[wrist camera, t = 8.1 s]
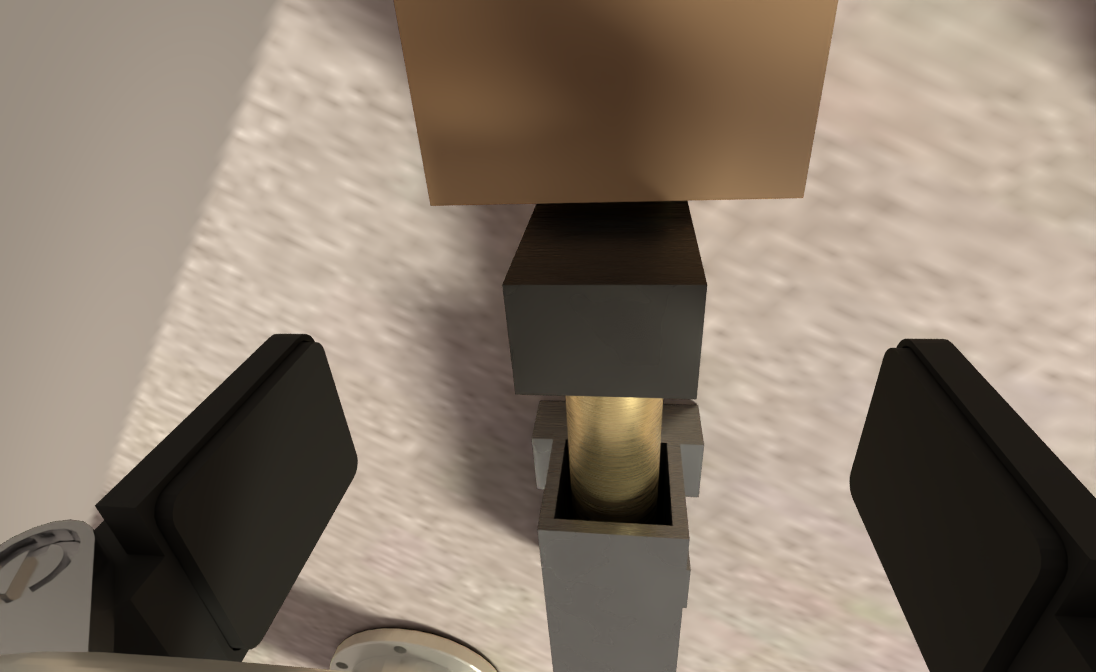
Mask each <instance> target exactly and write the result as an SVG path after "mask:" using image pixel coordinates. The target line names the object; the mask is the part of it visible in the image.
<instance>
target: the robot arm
mask: <svg viewBox="0 0 1096 672" xmlns="http://www.w3.org/2000/svg"><path fill="white" fill-rule="evenodd" d="M357 464H358V460H357V454H356V451H355V448H354V444H353V441H352V438H351V435H350V431H349V428H348V425H347V422H346V419H345V415H344V412H343V409H342V406H341V403H340V399H339V396H338V393H337V390H336V386H335V383H334V380H333V377H332V374H331V370H330V367H329V364H328V361H327V357H326V354H325V351H324V349H323V346H322V345H321V344H320V343H318V342H315V341H314V339H313V338H312V337H311V336H310V335H307V334H274V335H272V336H271V337H270V338H269V339H267V340H266V341H265V342H264V343H263V344H262V345H261V346H260V347H259V348H258V349H257V350H256V351H255V352H254V353H253V354H252V355H251V356H250V357H249V358H248V359H247V360H246V361H245V362H244V363H243V364H242V365H240V366H239V367H238V368H237V369H236V370H235V371H234V372H233V373H232V374H231V375H230V376H229V377H228V378H227V379H226V380H225V381H224V382H223V383H222V384H221V385H220V386H219V387H218V388H217V389H216V390H215V391H213V392H212V393H211V394H210V395H209V396H208V397H207V398H206V399H205V400H204V401H203V402H202V403H201V404H200V405H199V406H198V407H197V408H196V409H195V410H194V411H193V412H192V413H191V414H190V415H189V416H188V417H186V418H185V419H184V420H183V421H182V422H181V423H180V424H179V425H178V426H177V427H176V428H175V429H174V430H173V431H172V432H171V433H170V434H169V435H168V436H167V437H166V438H165V439H164V440H163V441H162V442H161V443H159V444H158V445H157V446H156V447H155V448H154V449H153V450H152V451H151V452H150V453H149V454H148V455H147V456H146V457H145V458H144V459H143V460H142V461H141V462H140V463H139V464H138V465H137V466H136V467H135V468H134V469H132V470H131V471H130V472H129V473H128V474H127V475H126V476H125V477H124V478H123V479H122V480H121V481H120V482H119V483H118V484H117V485H116V486H115V487H114V488H113V489H112V490H111V491H110V492H109V493H108V494H107V495H105V496H104V497H103V498H102V499H101V500H100V501H99V502H98V503H97V504H96V505H95V507H96V508H97V510H98V511H99V513H100V514H101V516H102V517H103V519H104V521H103V522H102V523H101V524H100V525H99V526H98V527H97V528H96V529H95V530H94V529H93V528H92V527H91V526H90V525H88V524H87V523H85V522H84V521H77V520H63V521H55V522H50V523H47V524H44V525H41V526H37V527H34V528H32V529H30V530H27V531H25V532H23V533H21V534H19V535H16V536H14V537H12V538H11V539H9V540H7V541H6V542H4V543H2V544H1V545H0V672H497V671H496V670H495V668H494V667H493V666H492V665H491V664H490V663H489V662H487V661H486V660H485V659H484V658H482V657H481V656H480V655H478V654H477V653H475V652H473V651H472V650H470V649H468V648H467V647H465V646H463V645H460V644H458V643H456V642H454V641H452V640H449V639H446V638H443V637H440V636H437V635H434V634H430V633H425V632H421V631H416V630H408V629H399V628H382V629H374V630H367V631H364V632H361V633H357V634H354V635H353V636H351V637H349V638H347V639H345V640H344V641H343V642H342V643H341V644H340V645H339V646H338V648H337V650H336V652H335V654H334V656H333V658H332V660H331V663H330V668H329V670H327V669H316V668H304V667H292V666H281V665H269V664H258V663H246V662H242V660H243V659H244V657H245V655H246V653H247V652H248V650H249V649H253V648H255V647H256V646H257V645H258V644H259V643H260V642H261V640H262V639H263V637H264V636H265V634H266V632H267V630H268V629H269V627H270V625H271V623H272V622H273V620H274V618H275V616H276V614H277V613H278V611H279V609H280V607H281V606H282V604H283V602H284V600H285V598H286V597H287V595H288V593H289V591H290V590H291V588H292V586H293V584H294V583H295V581H296V579H297V577H298V575H299V574H300V572H301V570H302V568H303V567H304V565H305V563H306V561H307V560H308V558H309V556H310V554H311V552H312V551H313V549H314V547H315V545H316V544H317V542H318V540H319V538H320V537H321V535H322V533H323V531H324V529H325V528H326V526H327V524H328V522H329V521H330V519H331V517H332V515H333V513H334V512H335V510H336V508H337V506H338V505H339V503H340V501H341V499H342V498H343V496H344V494H345V492H346V490H347V489H348V487H349V485H350V483H351V482H352V480H353V478H354V476H355V474H356V470H357ZM850 491H851V495H852V498H853V500H854V503H855V505H856V507H857V509H858V512H859V514H860V516H861V518H862V521H863V523H864V525H865V527H866V530H867V532H868V534H869V536H870V539H871V541H872V543H873V545H874V548H875V550H876V552H877V554H878V557H879V559H880V561H881V563H882V566H883V568H884V570H885V572H886V575H887V577H888V579H889V581H890V584H891V586H892V588H893V590H894V593H895V595H896V597H897V599H898V602H899V604H900V606H901V608H902V611H903V613H904V615H905V617H906V620H907V622H908V624H909V626H910V629H911V631H912V633H913V635H914V638H915V640H916V642H917V644H918V647H919V649H920V651H921V653H922V656H923V658H924V660H925V662H926V665H927V667H928V669H929V671H930V672H1096V498H1095V497H1094V496H1093V495H1092V494H1091V493H1090V492H1089V491H1088V489H1087V488H1086V487H1085V486H1084V485H1083V484H1082V483H1081V482H1080V481H1079V480H1078V479H1077V478H1076V476H1075V475H1074V474H1073V473H1072V472H1071V471H1070V470H1069V469H1068V468H1067V467H1066V466H1065V465H1064V464H1063V462H1062V461H1061V460H1060V459H1059V458H1058V457H1057V456H1056V455H1055V454H1054V453H1053V452H1052V451H1051V449H1050V448H1049V447H1048V446H1047V445H1046V444H1045V443H1044V442H1043V441H1042V440H1041V439H1040V438H1039V437H1038V435H1037V434H1036V433H1035V432H1034V431H1033V430H1032V429H1031V428H1030V427H1029V426H1028V425H1027V424H1026V422H1025V421H1024V420H1023V419H1022V418H1021V417H1020V416H1019V415H1018V414H1017V413H1016V412H1015V411H1014V410H1013V408H1012V407H1011V406H1010V405H1009V404H1008V403H1007V402H1006V401H1005V400H1004V399H1003V398H1002V397H1001V395H1000V394H999V393H998V392H997V391H996V390H995V389H994V388H993V387H992V386H991V385H990V384H989V383H988V381H987V380H986V379H985V378H984V377H983V376H982V375H981V374H980V373H979V372H978V371H977V370H976V368H975V367H974V366H973V365H972V364H971V363H970V362H969V361H968V360H967V359H966V358H965V357H964V356H963V354H962V353H961V352H960V351H959V350H958V349H957V348H956V347H955V346H954V345H953V344H952V343H951V342H950V341H948V340H946V339H904V340H902V341H901V342H900V343H899V344H898V345H897V348H890V349H888V350H887V351H886V352H885V355H884V358H883V361H882V365H881V368H880V372H879V375H878V379H877V382H876V386H875V389H874V393H873V396H872V400H871V403H870V407H869V410H868V414H867V417H866V421H865V424H864V428H863V431H862V435H861V438H860V442H859V445H858V449H857V452H856V456H855V460H854V463H853V467H852V470H851V474H850Z"/></svg>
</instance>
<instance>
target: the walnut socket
mask: <svg viewBox="0 0 1096 672" xmlns="http://www.w3.org/2000/svg"><path fill="white" fill-rule="evenodd" d="M837 4H838V0H394V5H395V11H396V16H397V22H398V28H399V33H400V39H401V44H402V50H403V55H404V61H405V66H406V72H407V77H408V83H409V89H410V94H411V100H412V105H413V111H414V116H415V122H416V127H417V133H418V138H419V144H420V150H421V155H422V161H423V166H424V172H425V177H426V183H427V188H428V194H429V199H430V205H431V206H444V205H492V204H541V203H589V202H637V201H685V200H733V199H781V198H803V196H804V191H805V185H806V179H807V174H808V168H809V162H810V157H811V151H812V145H813V140H814V134H815V128H816V123H817V117H818V111H819V106H820V100H821V95H822V89H823V83H824V78H825V72H826V66H827V61H828V55H829V49H830V44H831V38H832V32H833V27H834V21H835V15H836V10H837Z"/></svg>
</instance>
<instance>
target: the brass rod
mask: <svg viewBox="0 0 1096 672" xmlns="http://www.w3.org/2000/svg"><path fill="white" fill-rule="evenodd" d="M502 287H503V295H504V303H505V311H506V320H507V328H508V336H509V345H510V353H511V361H512V369H513V378H514V386H515V394H521V395H557V396H566V413H567V429H568V445H569V461H570V477H571V493H572V510H573V520H581V521H598V522H615V523H632V524H649V525H656V519H657V500H658V481H659V463H660V444H661V425H662V406H663V398H666V399H697V389H698V378H699V367H700V356H701V346H702V335H703V324H704V313H705V303H706V292H707V282H706V278H705V274H704V269H703V265H702V261H701V257H700V252H699V248H698V244H697V240H696V235H695V231H694V227H693V223H692V218H691V214H690V210H689V206H688V201H687V200H685V201H637V202H589V203H541V204H536V207H535V209H534V211H533V214H532V216H531V218H530V221H529V223H528V225H527V228H526V230H525V233H524V235H523V237H522V240H521V242H520V244H519V247H518V249H517V251H516V254H515V256H514V259H513V261H512V263H511V266H510V268H509V270H508V273H507V275H506V277H505V280H504V282H503V285H502Z"/></svg>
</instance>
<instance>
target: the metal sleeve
mask: <svg viewBox="0 0 1096 672" xmlns="http://www.w3.org/2000/svg"><path fill="white" fill-rule="evenodd" d="M532 446H533V456H534V465H535V474H536V484H537V489H544V495H543V500H542V506H541V512H540V518H539V523H538V529H537V531H538V540H539V549H540V558H541V567H542V575H543V584H544V593H545V602H546V611H547V620H548V629H549V637H550V646H551V655H552V664H553V672H676V667H677V658H678V648H679V638H680V628H681V618H682V608H687V599H688V590H689V580H690V571H691V570H690V559H689V529H688V519H687V509H686V499H685V497H699V488H700V478H701V469H702V460H703V450H704V441H703V435H702V428H701V421H700V414H699V408H698V405H666V404H663V406H662V425H661V444H660V463H659V481H658V500H657V519H656V525H649V524H632V523H615V522H598V521H581V520H573V510H572V493H571V477H570V461H569V445H568V429H567V413H566V402H563V401H540V403H539V407H538V412H537V416H536V421H535V426H534V430H533V435H532Z"/></svg>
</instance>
